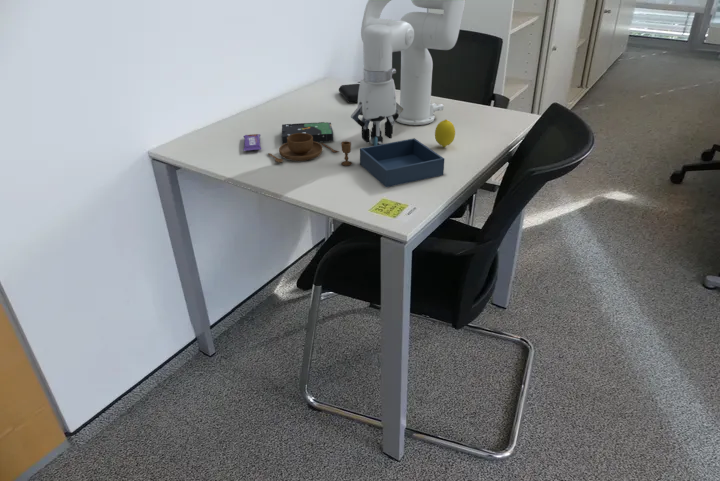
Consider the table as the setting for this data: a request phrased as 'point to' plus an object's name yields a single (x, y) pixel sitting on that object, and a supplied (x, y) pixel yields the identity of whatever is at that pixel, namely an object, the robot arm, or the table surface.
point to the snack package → (251, 142)
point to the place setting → (307, 149)
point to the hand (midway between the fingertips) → (377, 138)
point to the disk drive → (309, 131)
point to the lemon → (445, 133)
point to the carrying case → (350, 92)
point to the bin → (401, 162)
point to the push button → (376, 131)
